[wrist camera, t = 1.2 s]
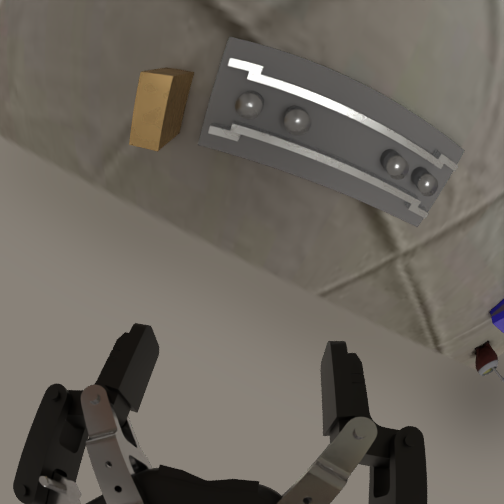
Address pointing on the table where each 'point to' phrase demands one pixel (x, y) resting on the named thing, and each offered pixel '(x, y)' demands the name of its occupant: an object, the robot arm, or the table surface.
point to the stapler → (498, 316)
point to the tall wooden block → (159, 107)
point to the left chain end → (294, 116)
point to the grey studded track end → (400, 169)
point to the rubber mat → (324, 127)
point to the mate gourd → (486, 360)
